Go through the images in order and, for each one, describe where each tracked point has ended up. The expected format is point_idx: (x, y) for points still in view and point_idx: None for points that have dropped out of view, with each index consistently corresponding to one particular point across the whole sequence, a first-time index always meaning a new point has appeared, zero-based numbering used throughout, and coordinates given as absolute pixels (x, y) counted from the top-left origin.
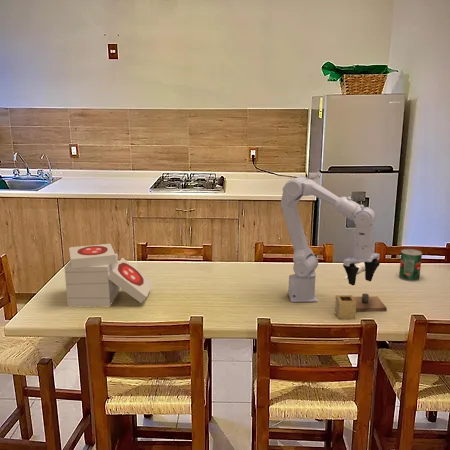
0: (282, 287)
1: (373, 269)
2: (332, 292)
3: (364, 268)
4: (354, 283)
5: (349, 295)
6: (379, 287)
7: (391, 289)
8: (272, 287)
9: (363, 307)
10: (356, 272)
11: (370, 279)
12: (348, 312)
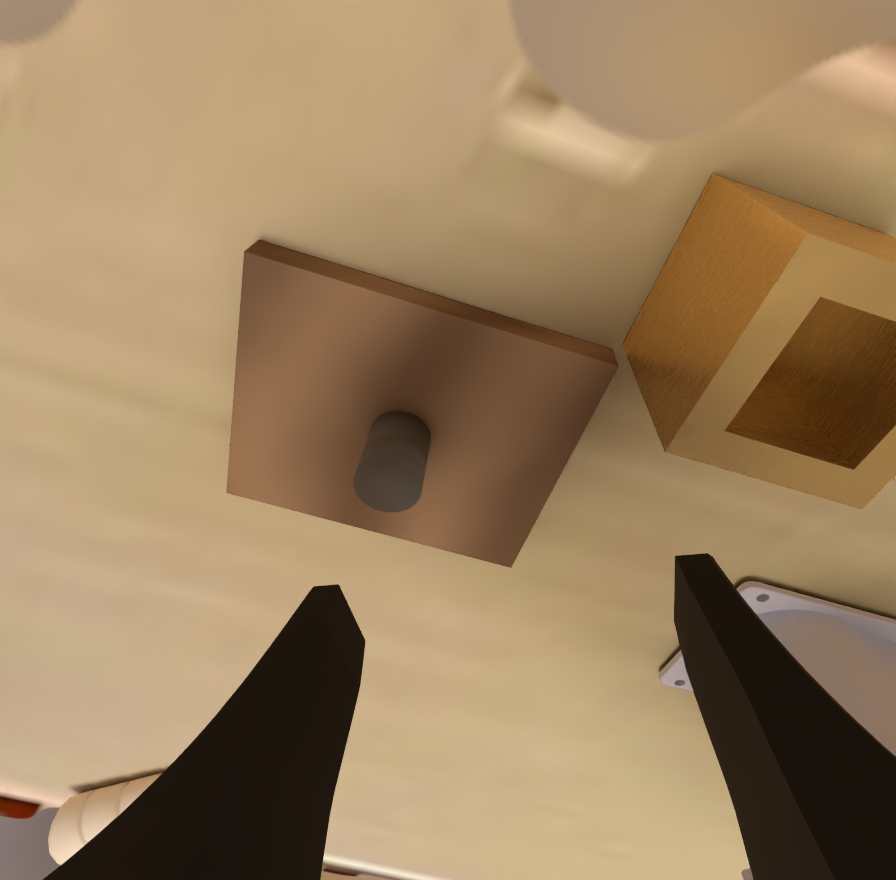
0: None
1: (220, 794)
2: (511, 649)
3: (144, 787)
4: (700, 577)
5: (701, 457)
6: (136, 614)
7: (56, 570)
8: None
9: (488, 341)
10: (839, 816)
11: (324, 608)
12: (828, 220)
